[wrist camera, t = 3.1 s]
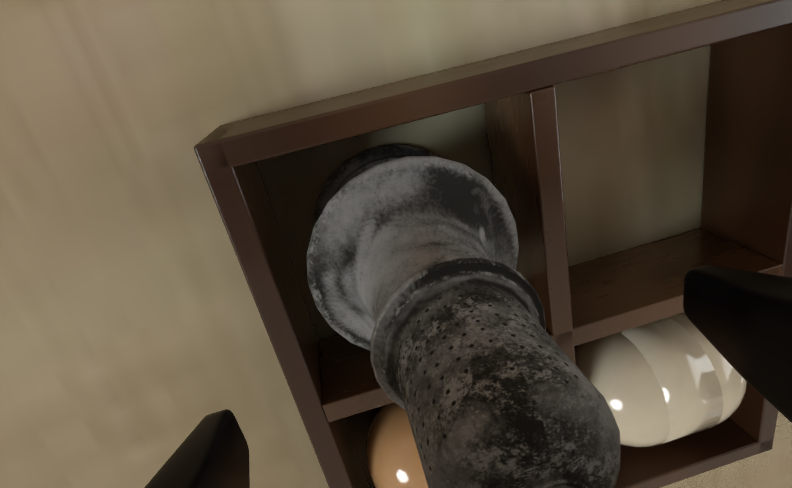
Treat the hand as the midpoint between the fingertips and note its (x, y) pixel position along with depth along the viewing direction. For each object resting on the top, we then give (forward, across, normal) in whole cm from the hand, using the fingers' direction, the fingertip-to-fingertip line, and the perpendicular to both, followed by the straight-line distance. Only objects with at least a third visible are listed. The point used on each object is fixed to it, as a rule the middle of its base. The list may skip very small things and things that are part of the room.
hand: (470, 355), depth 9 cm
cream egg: (+8, -8, +8) cm, 14 cm away
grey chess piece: (+8, 0, 0) cm, 8 cm away
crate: (+8, -4, +4) cm, 10 cm away
